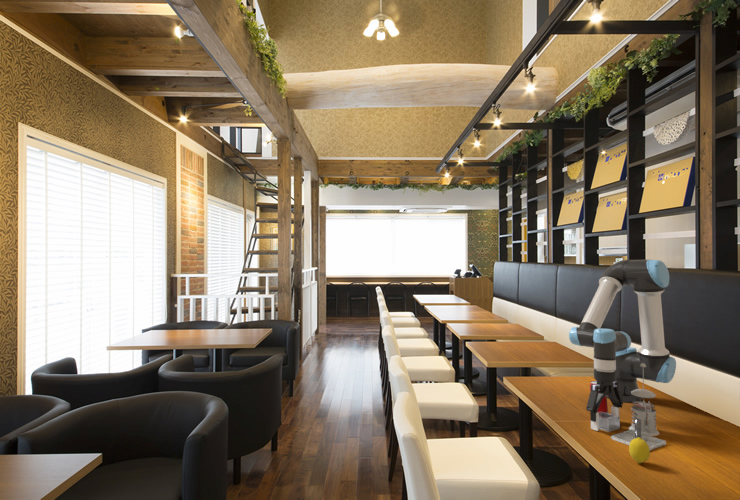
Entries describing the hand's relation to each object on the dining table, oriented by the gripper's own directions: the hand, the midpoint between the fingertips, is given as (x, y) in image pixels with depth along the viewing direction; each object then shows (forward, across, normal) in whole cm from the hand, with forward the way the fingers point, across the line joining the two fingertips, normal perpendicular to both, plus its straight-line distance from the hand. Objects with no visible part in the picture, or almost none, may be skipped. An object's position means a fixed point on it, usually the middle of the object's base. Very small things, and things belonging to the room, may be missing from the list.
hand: (605, 426), depth 168 cm
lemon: (0, +20, +24) cm, 31 cm away
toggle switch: (0, +3, +14) cm, 14 cm away
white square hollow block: (0, 0, 0) cm, 0 cm away
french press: (0, -9, +10) cm, 13 cm away
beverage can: (0, -5, -6) cm, 8 cm away
